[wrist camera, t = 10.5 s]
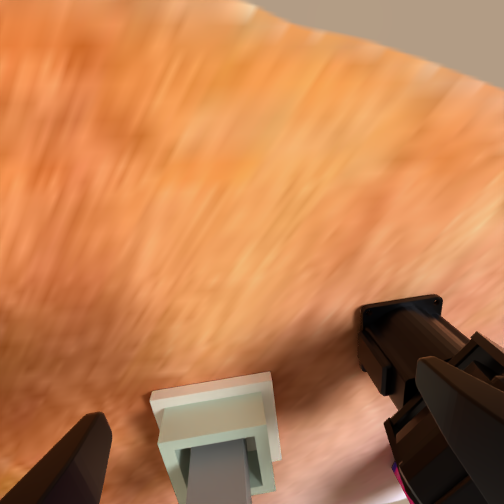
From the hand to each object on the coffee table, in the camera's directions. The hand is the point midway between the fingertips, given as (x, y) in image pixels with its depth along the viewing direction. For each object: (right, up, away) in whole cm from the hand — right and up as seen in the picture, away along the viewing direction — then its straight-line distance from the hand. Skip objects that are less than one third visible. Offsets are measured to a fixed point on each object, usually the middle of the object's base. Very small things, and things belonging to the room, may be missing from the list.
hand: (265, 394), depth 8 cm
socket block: (-3, -11, +18) cm, 22 cm away
